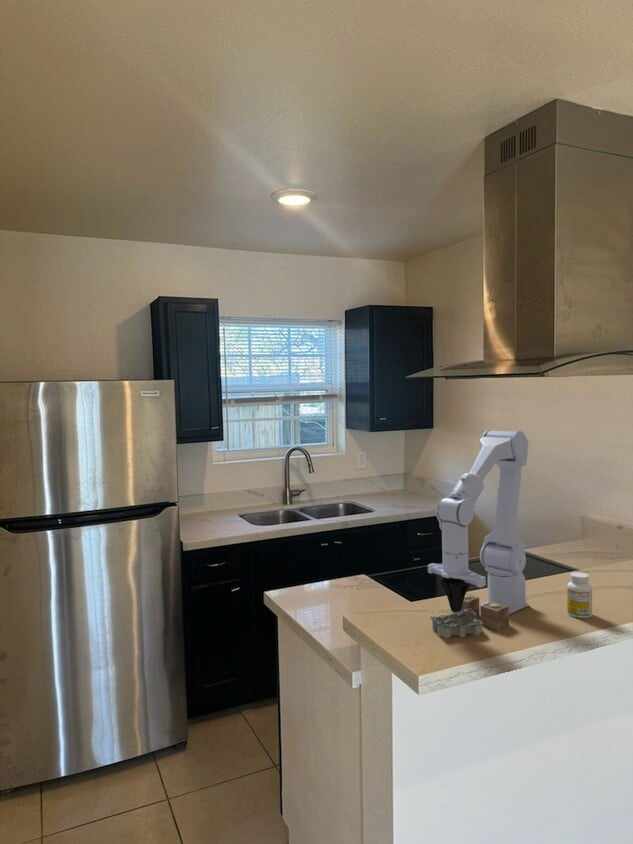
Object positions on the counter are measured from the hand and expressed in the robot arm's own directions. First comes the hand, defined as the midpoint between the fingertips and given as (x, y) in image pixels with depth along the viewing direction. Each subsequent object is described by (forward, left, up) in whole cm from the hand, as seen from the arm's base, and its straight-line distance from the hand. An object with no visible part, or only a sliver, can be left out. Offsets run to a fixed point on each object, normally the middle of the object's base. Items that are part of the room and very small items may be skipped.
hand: (456, 610), depth 133 cm
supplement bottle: (-29, +14, -5) cm, 32 cm away
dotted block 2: (-9, +4, -5) cm, 11 cm away
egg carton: (0, 0, -5) cm, 5 cm away
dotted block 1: (-9, -4, -5) cm, 11 cm away
